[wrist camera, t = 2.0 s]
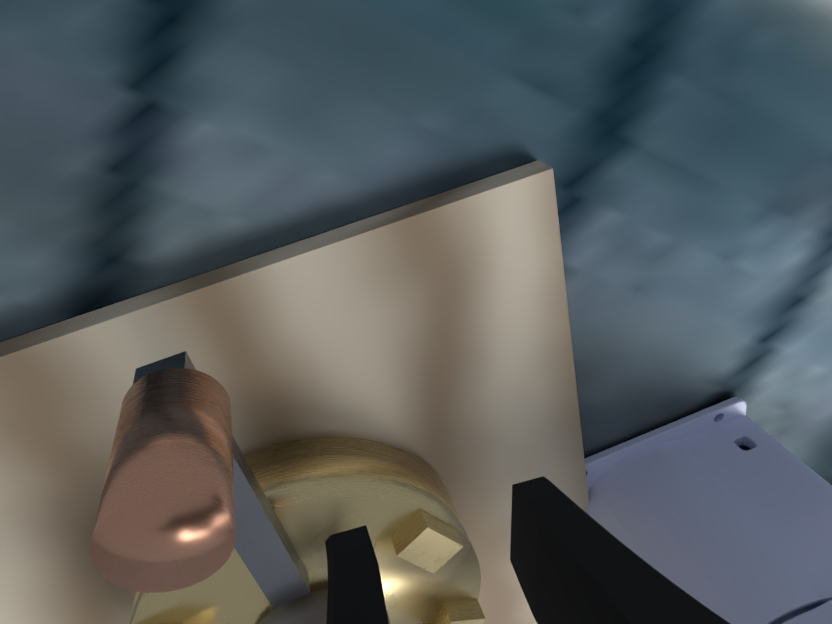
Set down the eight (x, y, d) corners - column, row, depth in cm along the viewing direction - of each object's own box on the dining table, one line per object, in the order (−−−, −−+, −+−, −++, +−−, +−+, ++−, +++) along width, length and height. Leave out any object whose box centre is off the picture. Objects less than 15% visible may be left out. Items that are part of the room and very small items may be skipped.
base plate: (538, 160, 19) (655, 225, 14) (589, 585, 32) (661, 701, 27) (-283, 437, 16) (-516, 650, 11) (138, 785, 29) (121, 959, 24)
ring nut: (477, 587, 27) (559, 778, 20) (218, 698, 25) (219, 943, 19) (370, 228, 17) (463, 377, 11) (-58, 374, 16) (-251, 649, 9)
